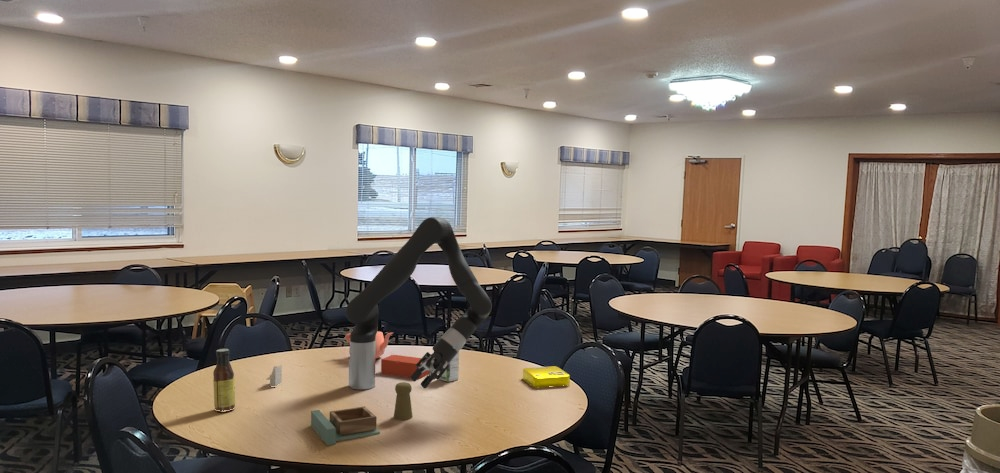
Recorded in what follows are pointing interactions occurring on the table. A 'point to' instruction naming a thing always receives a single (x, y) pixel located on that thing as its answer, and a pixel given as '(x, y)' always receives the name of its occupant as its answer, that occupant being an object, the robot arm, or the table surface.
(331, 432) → the track and backstop
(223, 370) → the sauce bottle
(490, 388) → the table surface
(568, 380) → the element tile
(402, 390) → the olive knob
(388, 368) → the brick
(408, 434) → the table surface
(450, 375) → the syrup box
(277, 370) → the architectural model
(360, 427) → the wooden tray
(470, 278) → the robot arm
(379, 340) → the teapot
